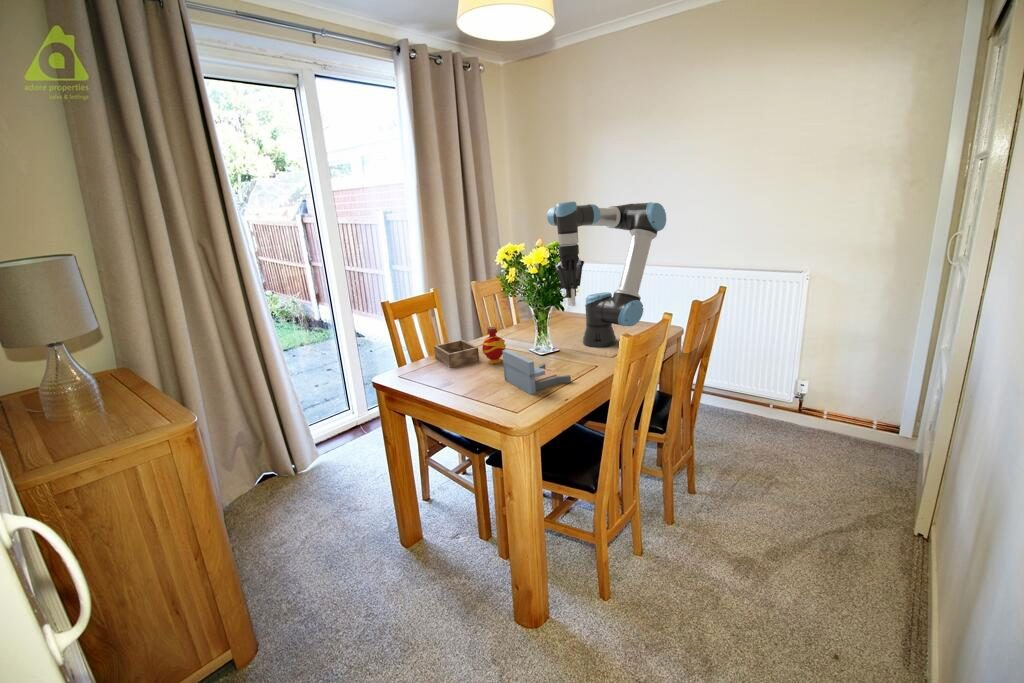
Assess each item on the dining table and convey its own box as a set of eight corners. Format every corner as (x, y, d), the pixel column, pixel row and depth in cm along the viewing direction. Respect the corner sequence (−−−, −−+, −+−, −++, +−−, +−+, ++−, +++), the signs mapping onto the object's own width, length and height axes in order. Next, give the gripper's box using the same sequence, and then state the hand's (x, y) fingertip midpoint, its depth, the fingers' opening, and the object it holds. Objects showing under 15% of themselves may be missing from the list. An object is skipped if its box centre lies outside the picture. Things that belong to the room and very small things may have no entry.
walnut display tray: (463, 351, 224) (461, 339, 222) (479, 360, 209) (478, 347, 208) (435, 358, 217) (433, 345, 215) (450, 367, 203) (448, 354, 201)
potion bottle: (486, 366, 201) (482, 332, 197) (481, 359, 211) (477, 326, 206) (509, 362, 204) (507, 329, 199) (503, 356, 213) (501, 323, 209)
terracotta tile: (542, 375, 187) (542, 368, 187) (556, 381, 180) (556, 374, 179) (517, 383, 181) (516, 376, 180) (531, 390, 174) (530, 382, 173)
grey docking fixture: (543, 369, 193) (542, 340, 190) (572, 382, 177) (571, 351, 174) (504, 379, 184) (502, 350, 181) (531, 394, 169) (528, 362, 165)
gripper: (575, 241, 186) (578, 300, 193) (548, 246, 179) (552, 307, 186) (588, 242, 179) (590, 303, 186) (561, 247, 173) (564, 310, 180)
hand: (571, 305), depth 186 cm, fingers closed
